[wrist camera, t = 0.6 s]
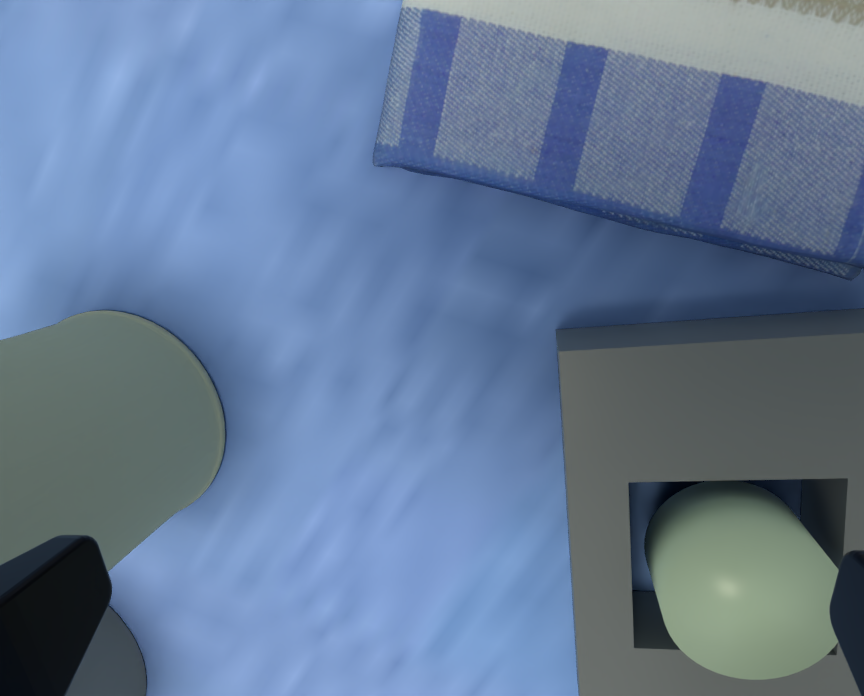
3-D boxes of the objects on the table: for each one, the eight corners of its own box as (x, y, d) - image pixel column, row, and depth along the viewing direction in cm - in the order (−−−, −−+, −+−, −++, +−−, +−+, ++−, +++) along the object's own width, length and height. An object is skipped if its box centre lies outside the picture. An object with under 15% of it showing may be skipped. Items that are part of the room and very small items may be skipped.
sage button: (801, 613, 20) (845, 683, 17) (646, 609, 21) (662, 675, 18) (806, 478, 19) (855, 530, 16) (642, 481, 20) (659, 530, 17)
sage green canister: (4, 443, 26) (-405, 637, 15) (65, 266, 23) (-383, 338, 12) (179, 551, 26) (-100, 830, 15) (261, 385, 23) (-5, 572, 12)
